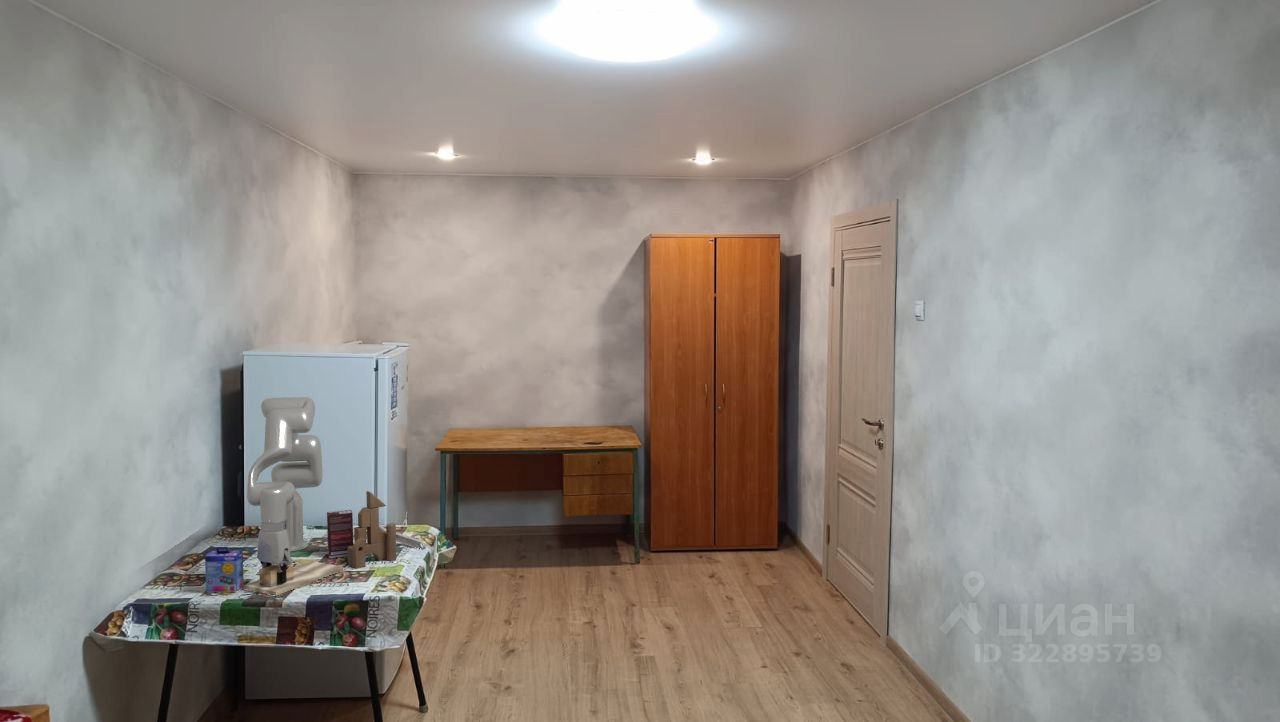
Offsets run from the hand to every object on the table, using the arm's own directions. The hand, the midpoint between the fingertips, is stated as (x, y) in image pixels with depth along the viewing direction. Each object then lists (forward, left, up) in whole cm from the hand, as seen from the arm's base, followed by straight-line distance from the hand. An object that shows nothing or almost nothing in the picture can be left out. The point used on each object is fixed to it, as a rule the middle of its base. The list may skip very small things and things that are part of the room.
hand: (275, 581), depth 276 cm
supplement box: (-7, +35, -2) cm, 36 cm away
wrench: (0, +55, -2) cm, 55 cm away
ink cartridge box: (-12, -9, -2) cm, 15 cm away
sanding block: (0, +1, 0) cm, 1 cm away
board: (0, +8, -2) cm, 8 cm away
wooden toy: (+9, +34, -2) cm, 35 cm away
